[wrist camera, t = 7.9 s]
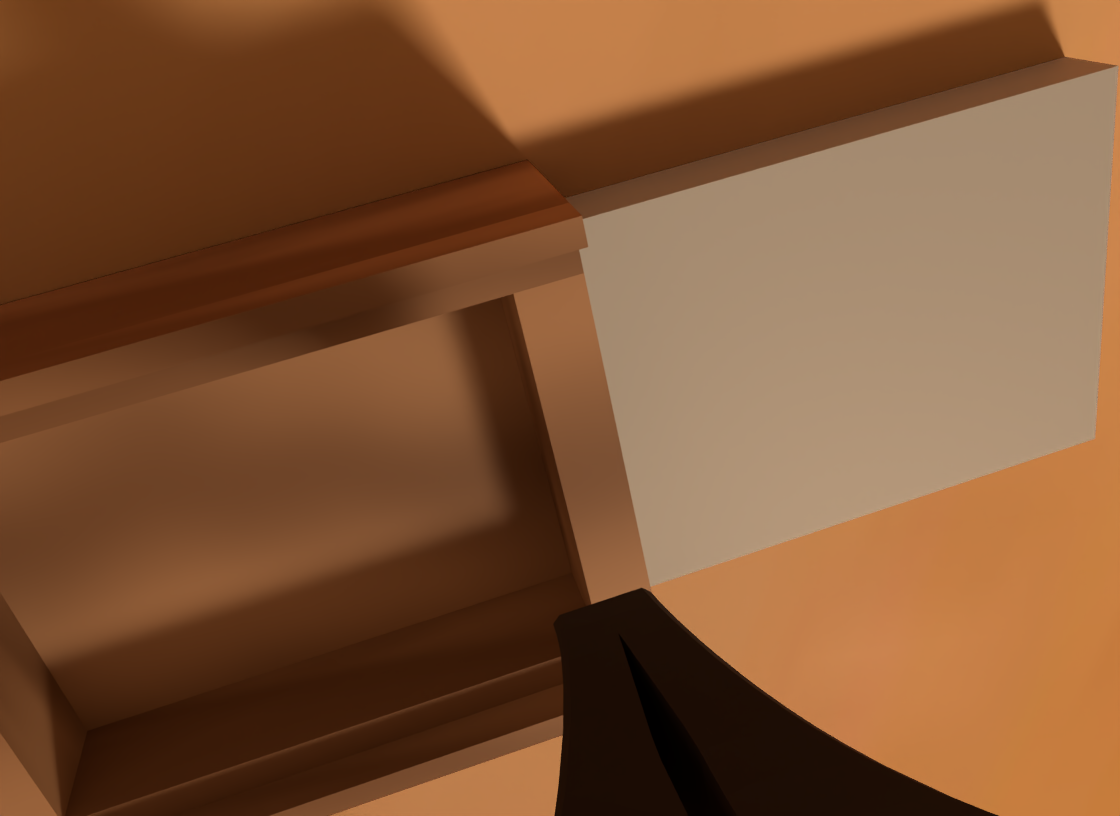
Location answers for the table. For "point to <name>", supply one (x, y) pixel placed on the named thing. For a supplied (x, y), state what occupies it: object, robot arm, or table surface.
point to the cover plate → (854, 310)
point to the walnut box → (304, 509)
